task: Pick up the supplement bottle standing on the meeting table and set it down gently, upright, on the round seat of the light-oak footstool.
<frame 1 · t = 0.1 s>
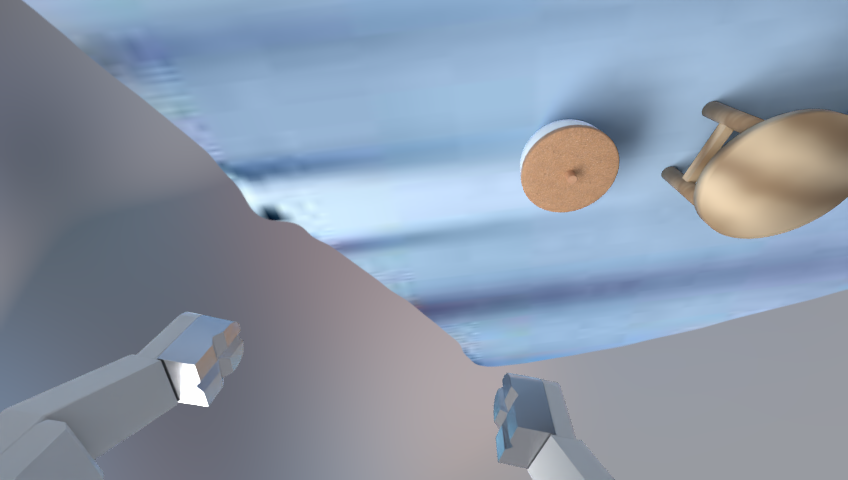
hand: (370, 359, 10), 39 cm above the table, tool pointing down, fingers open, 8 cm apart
lidded jar: (554, 149, 44), on the table
stool: (720, 148, 41), on the table
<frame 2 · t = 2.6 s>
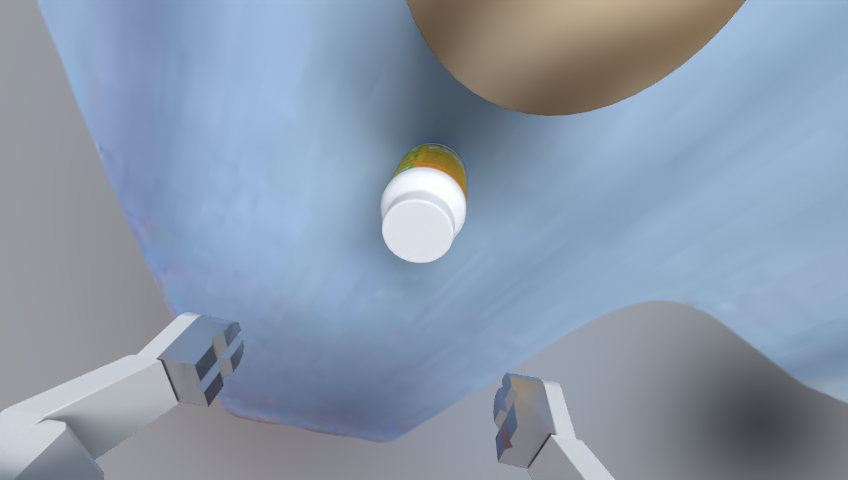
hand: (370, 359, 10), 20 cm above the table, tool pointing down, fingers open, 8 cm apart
supplement bottle: (432, 174, 27), on the table
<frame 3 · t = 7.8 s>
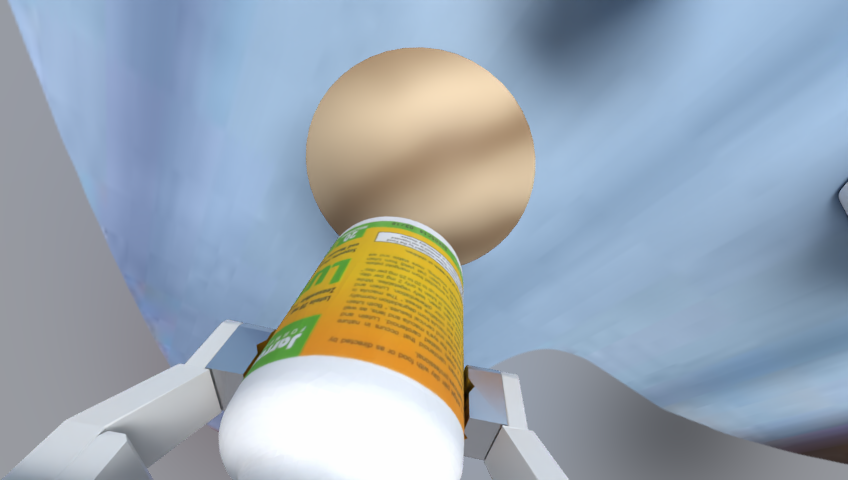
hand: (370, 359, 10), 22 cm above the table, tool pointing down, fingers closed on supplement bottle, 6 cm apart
supplement bottle: (397, 269, 14), point 18 cm above the table, touching gripper
stool: (429, 140, 28), on the table
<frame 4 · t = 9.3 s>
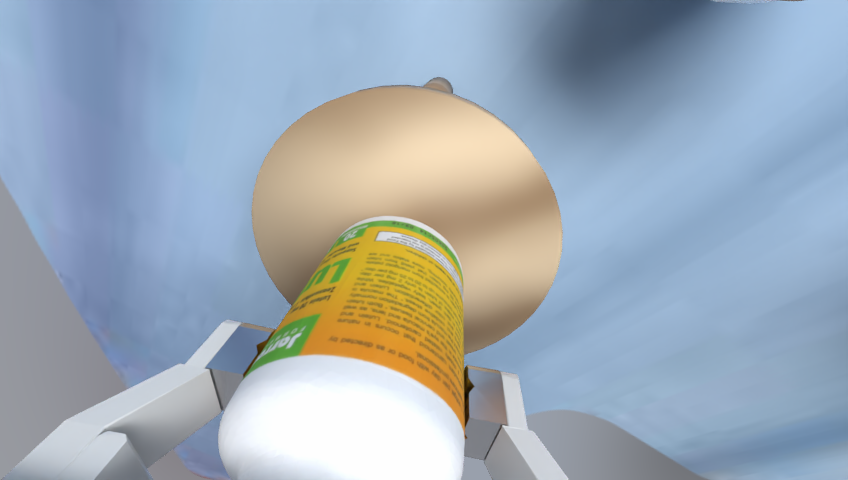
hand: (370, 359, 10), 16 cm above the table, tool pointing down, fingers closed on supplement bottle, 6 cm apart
supplement bottle: (397, 269, 14), point 11 cm above the table, touching gripper
stool: (424, 181, 23), on the table
when the fingers open (15 cm above the table, at t = 10.5 s): supplement bottle stays where it is, resting on stool.
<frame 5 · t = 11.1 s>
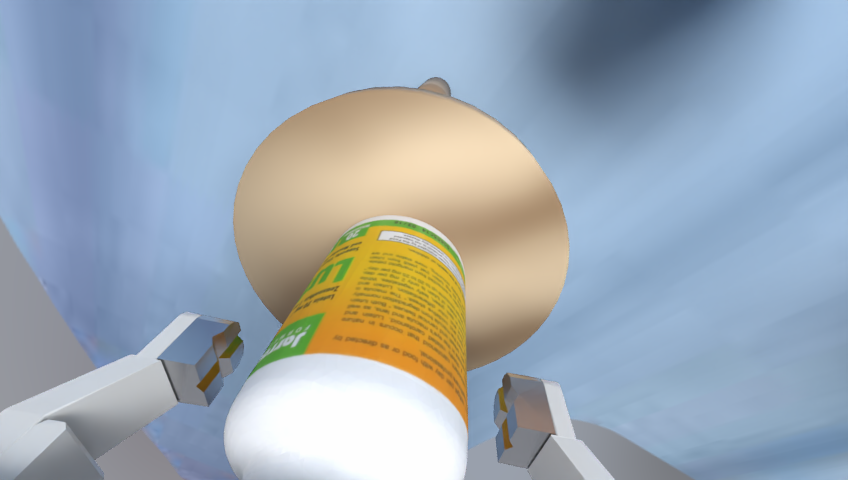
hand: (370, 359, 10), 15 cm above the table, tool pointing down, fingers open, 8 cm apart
supplement bottle: (399, 268, 14), point 10 cm above the table, touching stool
stool: (420, 186, 22), on the table
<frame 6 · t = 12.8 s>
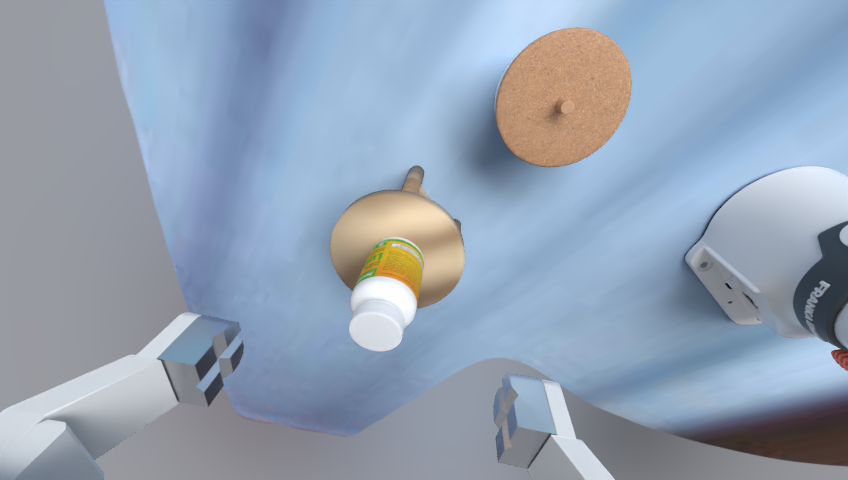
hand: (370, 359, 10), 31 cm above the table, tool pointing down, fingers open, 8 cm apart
lidded jar: (540, 93, 33), on the table
supplement bottle: (397, 257, 33), point 10 cm above the table, touching stool
stool: (409, 216, 42), on the table
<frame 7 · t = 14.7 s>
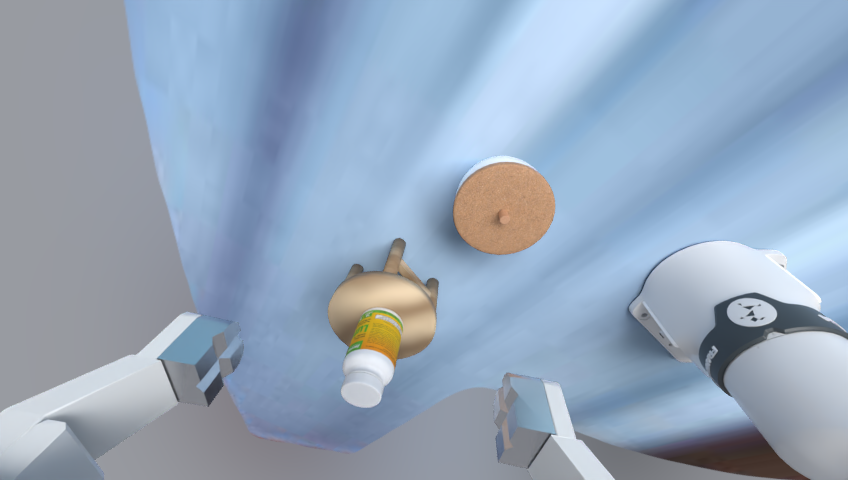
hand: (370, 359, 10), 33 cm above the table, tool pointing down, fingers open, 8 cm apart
lidded jar: (496, 186, 41), on the table
supplement bottle: (382, 321, 41), point 10 cm above the table, touching stool
stool: (395, 275, 50), on the table
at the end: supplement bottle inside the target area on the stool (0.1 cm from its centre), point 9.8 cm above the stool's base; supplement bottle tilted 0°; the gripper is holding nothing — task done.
